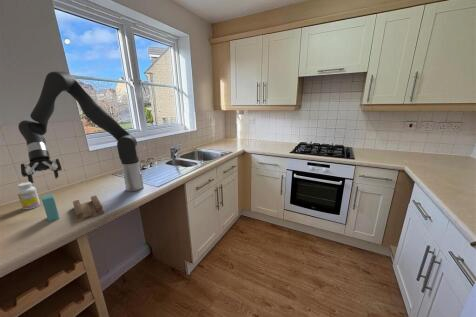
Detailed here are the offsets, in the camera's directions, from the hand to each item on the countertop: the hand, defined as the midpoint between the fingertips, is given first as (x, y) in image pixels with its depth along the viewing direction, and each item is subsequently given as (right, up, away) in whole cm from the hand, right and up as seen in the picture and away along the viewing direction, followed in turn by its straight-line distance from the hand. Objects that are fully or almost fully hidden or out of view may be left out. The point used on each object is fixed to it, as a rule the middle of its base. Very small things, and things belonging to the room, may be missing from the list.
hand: (44, 180), depth 97 cm
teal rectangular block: (+8, -17, -4) cm, 19 cm away
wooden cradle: (+19, -16, +3) cm, 25 cm away
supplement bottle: (-13, -15, +7) cm, 21 cm away
